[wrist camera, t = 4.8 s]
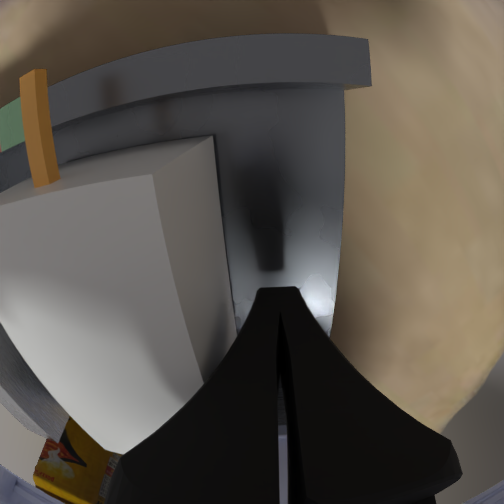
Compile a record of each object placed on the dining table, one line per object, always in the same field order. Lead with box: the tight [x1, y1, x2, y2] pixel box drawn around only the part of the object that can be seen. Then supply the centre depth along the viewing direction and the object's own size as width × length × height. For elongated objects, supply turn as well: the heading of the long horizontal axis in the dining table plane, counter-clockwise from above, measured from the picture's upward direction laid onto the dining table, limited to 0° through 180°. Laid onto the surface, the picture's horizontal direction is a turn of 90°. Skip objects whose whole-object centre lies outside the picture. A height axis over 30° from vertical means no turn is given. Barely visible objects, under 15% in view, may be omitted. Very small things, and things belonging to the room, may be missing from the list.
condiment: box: [33, 416, 123, 504], centre depth 14 cm, size 7×8×12 cm
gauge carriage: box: [0, 69, 237, 454], centre depth 8 cm, size 14×6×5 cm, turn 4°
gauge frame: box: [0, 33, 372, 443], centre depth 9 cm, size 16×18×6 cm
